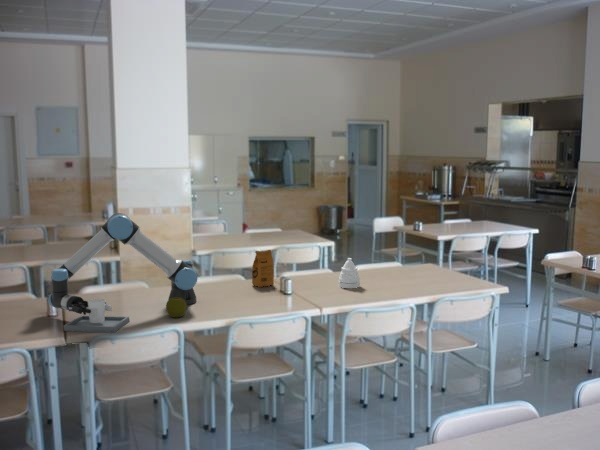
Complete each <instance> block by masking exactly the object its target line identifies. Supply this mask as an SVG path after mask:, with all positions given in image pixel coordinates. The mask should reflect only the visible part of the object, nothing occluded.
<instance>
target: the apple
mask: <svg viewBox="0 0 600 450" xmlns="http://www.w3.org/2000/svg"><path fill="white" fill-rule="evenodd" d="M165 307H166V313H167V314H168V316H169V317H171V318H181V317H183V316H184V315H185V313H186V311H187V307H188V306H187V304H186V302H185V300H184V299H183V298H181V297H173V298H170V299H169V300H167V302H166V305H165Z"/></svg>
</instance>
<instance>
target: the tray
mask: <svg viewBox="0 0 600 450" xmlns="http://www.w3.org/2000/svg"><path fill="white" fill-rule="evenodd" d="M128 323H130V316H119V315H118V316H116V315H115V316H114V315H105V321H104V322H100V323H91V322H90V320H89V315H87V314H86V315H82V314H80V316H78V317H76V318H75V319H73V320H71V321H68V322H67V323H66V324H64V325H63V331H64V332H82V333H85V332H86V333H114V332H115V333H116V332H117V331H119V330H120V329H122V328H123V327H124V326H125V325H127V324H128Z"/></svg>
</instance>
